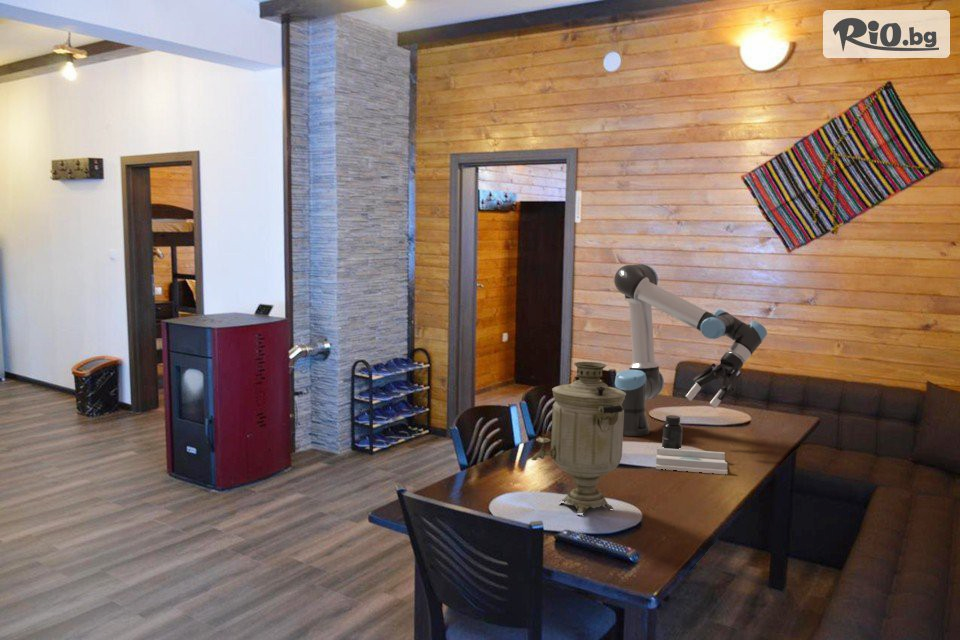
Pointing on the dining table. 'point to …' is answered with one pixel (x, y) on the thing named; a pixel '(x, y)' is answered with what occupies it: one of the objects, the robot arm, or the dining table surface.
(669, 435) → the supplement bottle
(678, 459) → the rail cradle
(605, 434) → the samovar
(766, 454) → the dining table surface
